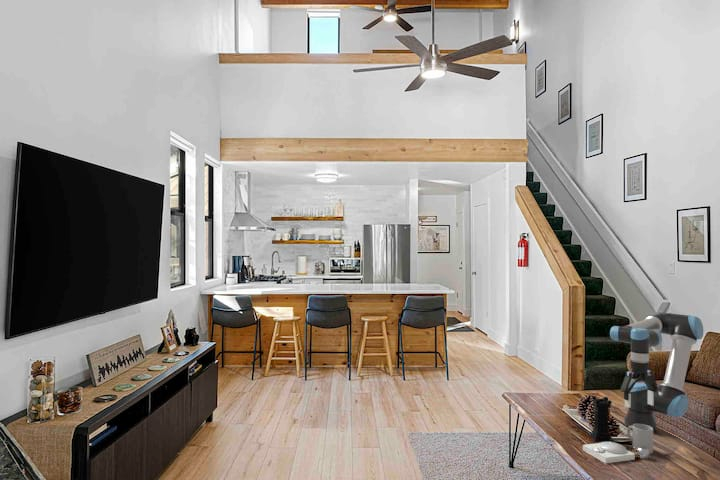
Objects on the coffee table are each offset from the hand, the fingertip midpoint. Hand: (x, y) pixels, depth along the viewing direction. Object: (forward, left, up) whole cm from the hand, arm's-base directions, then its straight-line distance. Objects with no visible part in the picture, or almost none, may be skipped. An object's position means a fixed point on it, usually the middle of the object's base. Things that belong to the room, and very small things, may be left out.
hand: (639, 405), depth 227 cm
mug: (0, 0, -20) cm, 21 cm away
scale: (+20, +2, -20) cm, 28 cm away
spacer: (+6, +8, -20) cm, 23 cm away
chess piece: (+9, -14, -20) cm, 26 cm away
